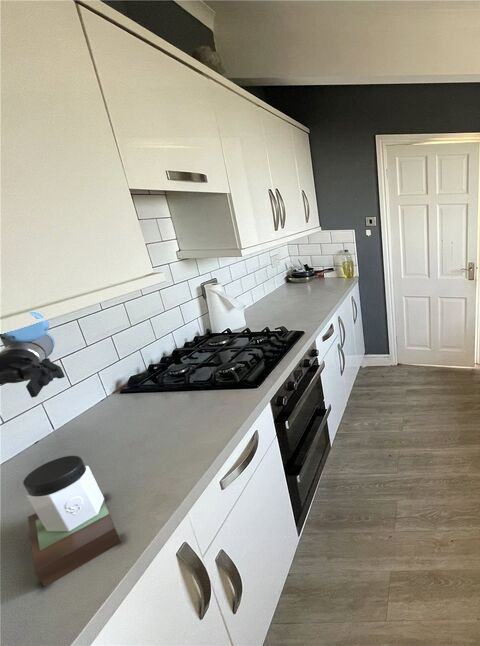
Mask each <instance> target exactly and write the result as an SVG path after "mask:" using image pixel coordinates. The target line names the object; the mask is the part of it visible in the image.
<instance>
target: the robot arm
mask: <svg viewBox="0 0 480 646" xmlns="http://www.w3.org/2000/svg"><path fill="white" fill-rule="evenodd" d="M30 313H31V314H30ZM30 313H29V314H30V315H32V316H33V315H34V317H35V318H36V319H42V318H44V317H43V316H42V315H41V314H39V313H36V312H30ZM49 330H50V322H49V320H48V319H47V320H46V321H42V322H39V323H36V324H33V325H30V326H28V327H24V328H21V329H18V330H15V331H10V332H7V333H4V334H0V341H1V343H2V344H3V346H4V348H3V349H2V350H1V351H0V386H1V385H5V384H19V383H22V382H27V384H26V385H25V388H26V390H27V392H28V393H29V395H30V397H31V398H36V397H37V396H39V394H40V393H41V391H42V390H43V388H44V387H47V386H48V385H49V384H50V383H51V382H53V381H54V379H59V380H60V379H63V378H65V377H66V376H65V373H64V370H63V369H62V367H61V366H60V365H58V364H56V363H54V362H52V361H51V359H50V358H49V356H50V355H52V354H53V351H54V348H55V345H56V343H55V339H54V338H53V336H52V335H50V333H48V331H49Z"/></svg>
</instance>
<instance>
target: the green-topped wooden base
mask: <svg viewBox="0 0 480 646" xmlns="http://www.w3.org/2000/svg"><path fill="white" fill-rule="evenodd" d="M97 485H98V487H99V489H100V491H101V493H102V495H103V497H104V501H103V503H102V506H101V508H100V511H99V513H98V515H96V516H95V517H93V518H91V519H89V520H88V521H86V522H84V523H83V524H81V525H79V526H78V527H76V528H74V529H73V530H71V531H69V532H47V531H46V529H45V527H44V526H43V524H42V522H41V521H40V519H39V517H38V516H37V514H36V512H34V513H33V514H30V515H29V516H27V522H28V529H29V530H28V531H29V536H30V537H29V538H30V546H31V553H32V560H33V569H34V574H35V575H36V577H37V578H38V580H39V581H40V583H41V584H42V585H43V588H46V587H48V586H50V585H51V584H53V583H54V582H56V581H58V580H59V579H61V578H63V577H65V576H66V575H68V574H70V573H71V572H74V571H75V570H77V569H78V568H81V567H82V566H84V565H86V564H87V563H88V562H90V561H92V560H94V559H96V558H97V557H99V556H100V555H102V554H104V553H106V552H107V551H110V550H111V549H112V548H114V547H117V546H118V545H119V544H121V543H122V539H121V536H120V535H119V533H118V531H117V528H116V526H115V524H114V521H113V519H112V516H111V513H110V511H109V508H108V505H107V504H106V499H105V496H104V494H103V492H102V490H101V488H100V486H99V484H98V483H97Z"/></svg>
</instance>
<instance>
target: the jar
mask: <svg viewBox="0 0 480 646" xmlns="http://www.w3.org/2000/svg"><path fill="white" fill-rule="evenodd" d="M22 484H23V486H24V488H25V489H26V491H27V493H28V494H27V495H26V499H27V500H28V503H29V504H30V505H31V507H32V509H33V511H34V513H36V514H37V516H38V517H39V519H40V521H41V522H42V524H43V526H44V527H45V529H46V531H47V532H69V531H71V530H73V529H74V528H76V527H78V526H79V525H81V524H83V523H84V522H86V521H88V520H89V519H91V518H93V517H95V516H96V515H98V513H99V511H100V508H101V506H102V503H103V501H104V499H105V496H104V494H103V492H102V490H101V488H100V486H99V484H98V483H97V480H96V479H95V476H94V475H93V472H92V470H91V468H90V466H89V465H86V464H85V463H84V460H83V459H82V457H81V456H79V455H67V456H61V457H59V458H55V459H53V460H50V461H48V462H46V463H43V464H42V465H40V466H38V467H36V468H35V469H33V470H32V471H31V472H29V473H28V474H27V475H26V476H25V477H24V479H23V481H22ZM97 484H98V485H97ZM98 486H99V487H98ZM99 488H100V489H99ZM100 490H101V491H100ZM101 492H102V493H101ZM102 494H103V495H102ZM103 496H104V497H103Z"/></svg>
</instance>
